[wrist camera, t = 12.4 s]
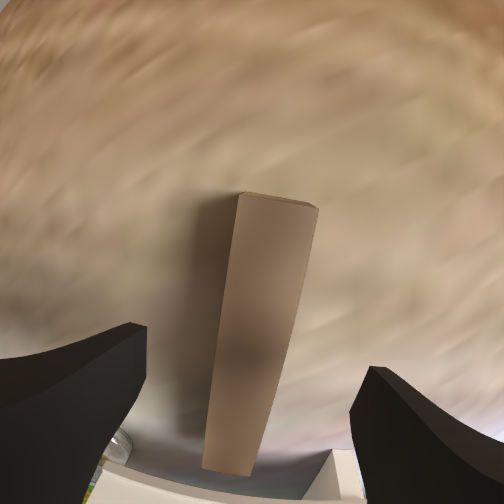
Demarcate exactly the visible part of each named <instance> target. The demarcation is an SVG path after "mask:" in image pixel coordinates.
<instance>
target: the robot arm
mask: <svg viewBox="0 0 504 504" xmlns="http://www.w3.org/2000/svg"><path fill="white" fill-rule="evenodd" d="M146 347H147V327H146V326H142V325H138V324H135V323H131V322H129V323H125V324H122V325H120V326H117V327H114V328H112V329H109V330H107V331H104V332H102V333H99V334H97V335H94V336H92V337H89V338H86V339H84V340H81V341H78V342H75V343H72V344H69V345H66V346H63V347H60V348H57V349H54V350H50V351H46V352H42V353H38V354H33V355H28V356H23V357H16V358H7V359H0V504H82V502H83V499H84V497H85V494H86V492H87V489H88V487H89V484H90V482H91V479H92V477H93V474H94V472H95V470H96V468H97V465H98V463H99V461H100V459H101V457H102V455H103V453H104V451H105V449H106V447H107V446H108V444H109V443H110V441H111V439H112V438H113V436H114V435H115V433H116V432H117V430H118V428H119V427H120V425H121V424H122V422H123V420H124V419H125V417H126V416H127V414H128V413H129V411H130V409H131V408H132V406H133V405H134V403H135V401H136V399H137V397H138V395H139V393H140V391H141V388H142V386H143V384H144V381H145V379H146ZM349 414H350V426H351V434H352V439H353V444H354V447H355V451H356V455H357V459H358V463H359V467H360V471H361V475H362V479H363V483H364V487H365V492H366V498H367V504H504V443H502V442H500V441H497V440H495V439H493V438H490V437H488V436H486V435H484V434H482V433H480V432H478V431H476V430H474V429H472V428H470V427H469V426H467V425H465V424H463V423H462V422H460V421H458V420H457V419H455V418H454V417H452V416H451V415H449V414H448V413H446V412H445V411H443V410H442V409H441V408H439V407H438V406H437V405H435V404H434V403H432V402H431V401H430V400H429V399H427V398H426V397H425V396H423V395H422V394H421V393H420V392H418V391H417V390H416V389H415V388H413V387H412V386H411V385H410V384H408V383H407V382H406V381H405V380H403V379H402V378H401V377H399V376H398V375H397V374H395V373H394V372H393V371H391V370H390V369H388V368H386V367H377V366H369V369H368V371H367V374H366V376H365V378H364V381H363V383H362V385H361V388H360V390H359V392H358V394H357V396H356V399H355V401H354V403H353V405H352V407H351V409H350V411H349Z"/></svg>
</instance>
